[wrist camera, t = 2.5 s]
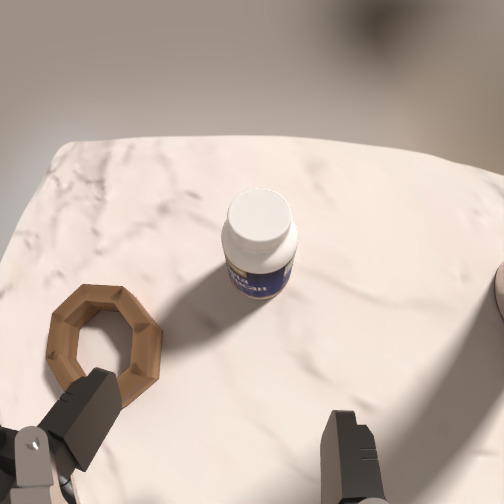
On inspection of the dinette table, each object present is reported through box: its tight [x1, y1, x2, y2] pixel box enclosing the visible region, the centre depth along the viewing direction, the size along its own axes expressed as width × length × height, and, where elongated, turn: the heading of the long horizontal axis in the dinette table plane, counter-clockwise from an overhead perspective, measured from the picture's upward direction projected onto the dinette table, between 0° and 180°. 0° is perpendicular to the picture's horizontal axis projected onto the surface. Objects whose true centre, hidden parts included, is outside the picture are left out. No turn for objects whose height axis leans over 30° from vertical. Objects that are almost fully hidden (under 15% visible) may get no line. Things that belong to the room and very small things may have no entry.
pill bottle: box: [221, 188, 298, 299], centre depth 23 cm, size 5×5×10 cm
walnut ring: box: [46, 284, 163, 407], centre depth 23 cm, size 10×10×3 cm
